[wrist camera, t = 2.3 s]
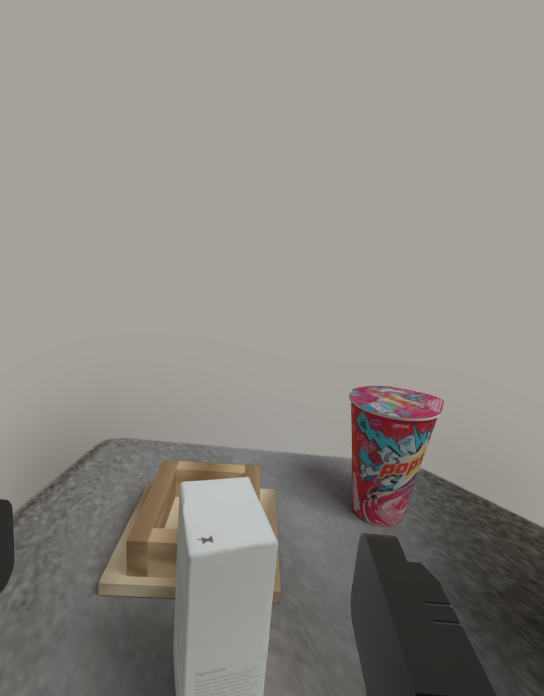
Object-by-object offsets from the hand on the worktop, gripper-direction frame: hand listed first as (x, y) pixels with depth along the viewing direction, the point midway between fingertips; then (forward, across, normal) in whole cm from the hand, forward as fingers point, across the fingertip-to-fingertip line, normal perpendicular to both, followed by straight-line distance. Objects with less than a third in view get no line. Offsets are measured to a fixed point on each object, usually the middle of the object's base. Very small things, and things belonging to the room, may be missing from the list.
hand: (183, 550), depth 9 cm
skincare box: (+11, 0, +18) cm, 21 cm away
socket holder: (+24, +3, +17) cm, 29 cm away
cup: (+30, -14, +17) cm, 37 cm away
